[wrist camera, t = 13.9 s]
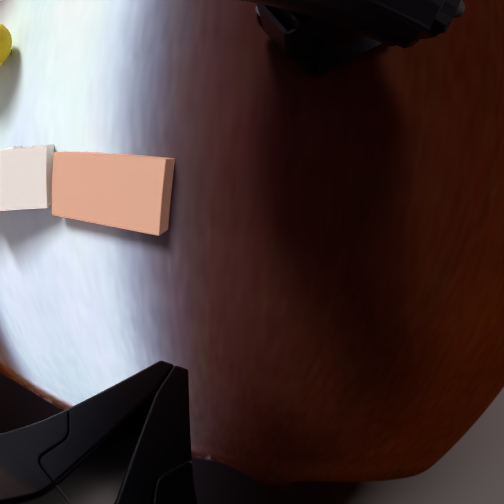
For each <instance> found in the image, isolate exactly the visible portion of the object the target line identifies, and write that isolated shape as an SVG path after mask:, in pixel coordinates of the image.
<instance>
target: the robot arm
mask: <svg viewBox="0 0 504 504" xmlns="http://www.w3.org/2000/svg"><path fill="white" fill-rule="evenodd" d="M241 1H247V2H252V3H257V6H256V8H255V11H256V13H257V15H258V16H259V17H260V18H261V21H262V25H263V29H264V31H265V32H266V33H267V34H268V35H269V37H270V38H271V39H272V40H273V41H274V43H275V44H276V45H277V46H278V47H279V49H280V50H281V51H282V52H283V54H284V55H285V56H287V57H292V56H293V57H294V59H295V60H296V61H297V62H298V64H299V65H300V66H301V68H302V69H303V70H304V71H305V73H306V74H307V75H308V76H309V77H311V78H317V77H319V76H321V75H323V74H324V73H326V72H328V71H330V70H332V69H334V68H336V67H338V66H339V65H341V64H343V63H345V62H347V61H349V60H351V59H353V58H355V57H357V56H359V55H361V54H363V53H365V52H367V51H370V50H372V49H374V48H376V47H378V46H380V45H382V44H385V45H387V46H389V47H390V46H395V45H398V46H400V47H402V48H408V47H412V46H413V45H414V44H415V43H417V42H418V41H419V40H420V39H425V38H432V37H435V36H437V35H438V34H439V33H444V32H445V31H446V30H447V28H448V26H449V24H450V22H451V20H452V18H455V17H460V16H461V15H462V14H463V12H464V9H465V6H464V3H463V0H241ZM312 67H314V68H316V69H317V72H316V73H312V72H311V71H310V68H312ZM116 498H117V499H116ZM115 500H116V501H115ZM114 502H115V504H198V502H197V498H196V494H195V487H194V479H193V468H192V456H191V439H190V418H189V387H188V370H187V369H185V368H182V367H179V366H173V365H172V364H170V363H167V362H164V361H158V362H157V363H155V364H153V365H151V366H149V367H148V368H146V369H144V370H142V371H140V372H138V373H136V374H135V375H133V376H131V377H129V378H127V379H125V380H123V381H122V382H120V383H118V384H116V385H114V386H112V387H110V388H108V389H106V390H104V391H102V392H101V393H99V394H97V395H95V396H93V397H91V398H89V399H87V400H85V401H83V402H81V403H79V404H77V405H75V406H73V407H71V408H69V410H65V411H63V412H60V413H58V414H57V415H54V416H52V417H50V418H47V419H45V420H43V421H40V422H37V423H35V424H32V425H29V426H26V427H23V428H20V429H16V430H13V431H10V432H6V433H2V434H0V504H113V503H114Z"/></svg>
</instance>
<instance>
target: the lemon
mask: <svg viewBox="0 0 504 504" xmlns="http://www.w3.org/2000/svg"><path fill="white" fill-rule="evenodd" d="M11 45H12V38H11V34H10V32H9V30H8V29H7V28H6V27H5V26H3V25H2V24H0V66H1V65H2V63H3V62H4V61H5V60H6V58H7V57H8V56H9V55H10V54H11Z"/></svg>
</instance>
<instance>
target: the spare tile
mask: <svg viewBox="0 0 504 504" xmlns="http://www.w3.org/2000/svg"><path fill="white" fill-rule="evenodd" d="M174 164H175V159H174V158H164V157H154V156H143V155H130V154H116V153H99V152H76V151H62V152H54V155H53V172H52V215H55V216H60V217H65V218H70V219H75V220H81V221H86V222H91V223H96V224H101V225H106V226H111V227H117V228H122V229H127V230H132V231H137V232H142V233H147V234H153V235H158V236H159V235H161V234H162V233H164V232H166V231H167V230H168V224H169V212H170V201H171V191H172V181H173V172H174Z"/></svg>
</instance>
